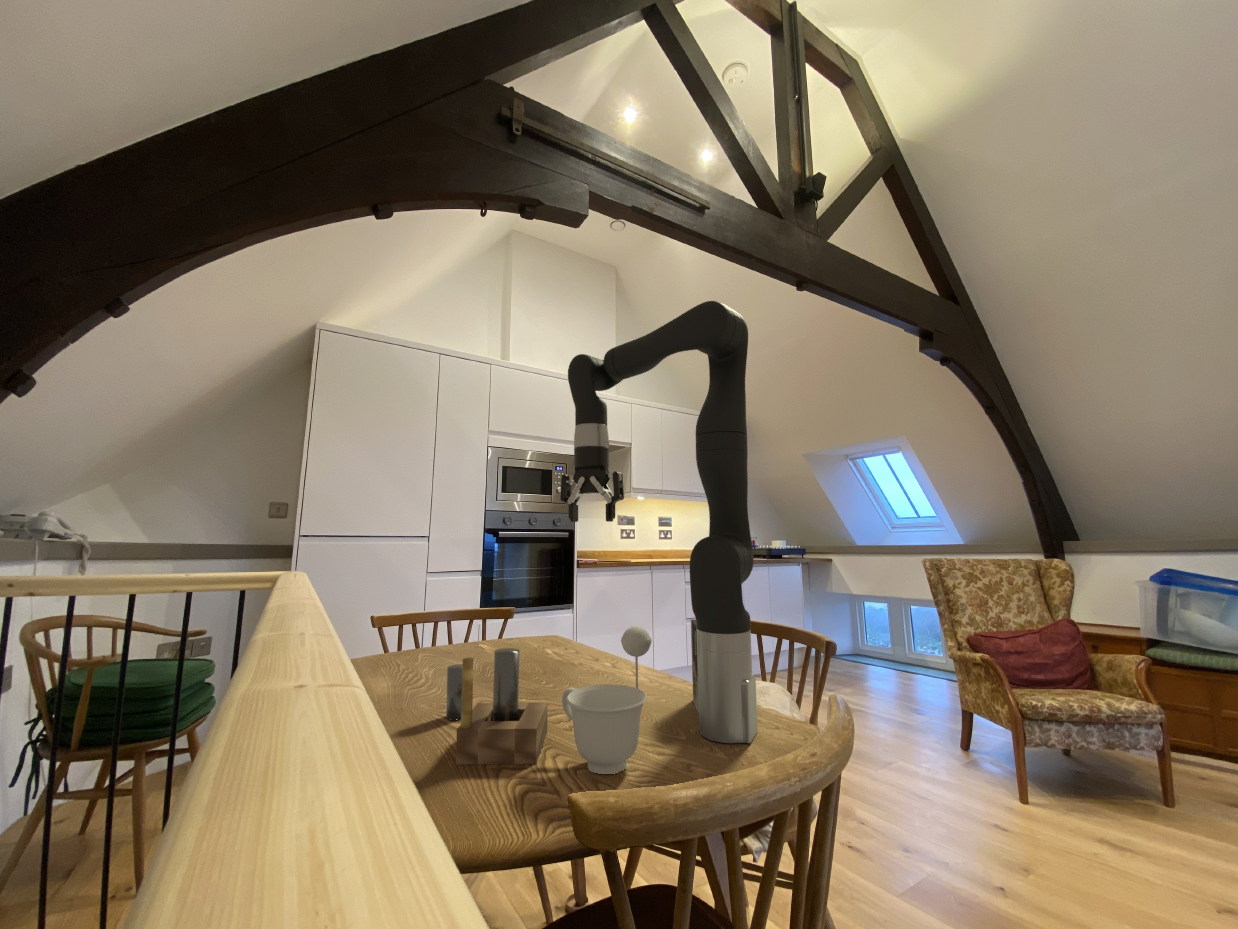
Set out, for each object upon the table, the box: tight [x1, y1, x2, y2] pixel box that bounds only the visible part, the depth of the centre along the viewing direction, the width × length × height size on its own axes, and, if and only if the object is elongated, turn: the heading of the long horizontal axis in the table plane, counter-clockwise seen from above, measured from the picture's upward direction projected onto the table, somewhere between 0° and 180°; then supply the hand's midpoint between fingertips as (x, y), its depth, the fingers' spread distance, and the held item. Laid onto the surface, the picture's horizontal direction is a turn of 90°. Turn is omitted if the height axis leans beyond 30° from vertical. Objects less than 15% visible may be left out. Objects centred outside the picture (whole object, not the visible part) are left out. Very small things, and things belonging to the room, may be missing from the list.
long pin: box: [492, 647, 520, 721], centre depth 87 cm, size 4×4×15 cm
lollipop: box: [620, 625, 653, 689], centre depth 107 cm, size 6×6×15 cm
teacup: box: [561, 683, 648, 775], centre depth 80 cm, size 12×15×10 cm
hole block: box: [455, 657, 548, 765], centre depth 87 cm, size 12×12×15 cm
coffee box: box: [690, 619, 699, 715], centre depth 105 cm, size 9×6×16 cm
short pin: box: [445, 663, 463, 721], centre depth 101 cm, size 4×4×9 cm
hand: (591, 521), depth 115 cm, fingers open, 8 cm apart
